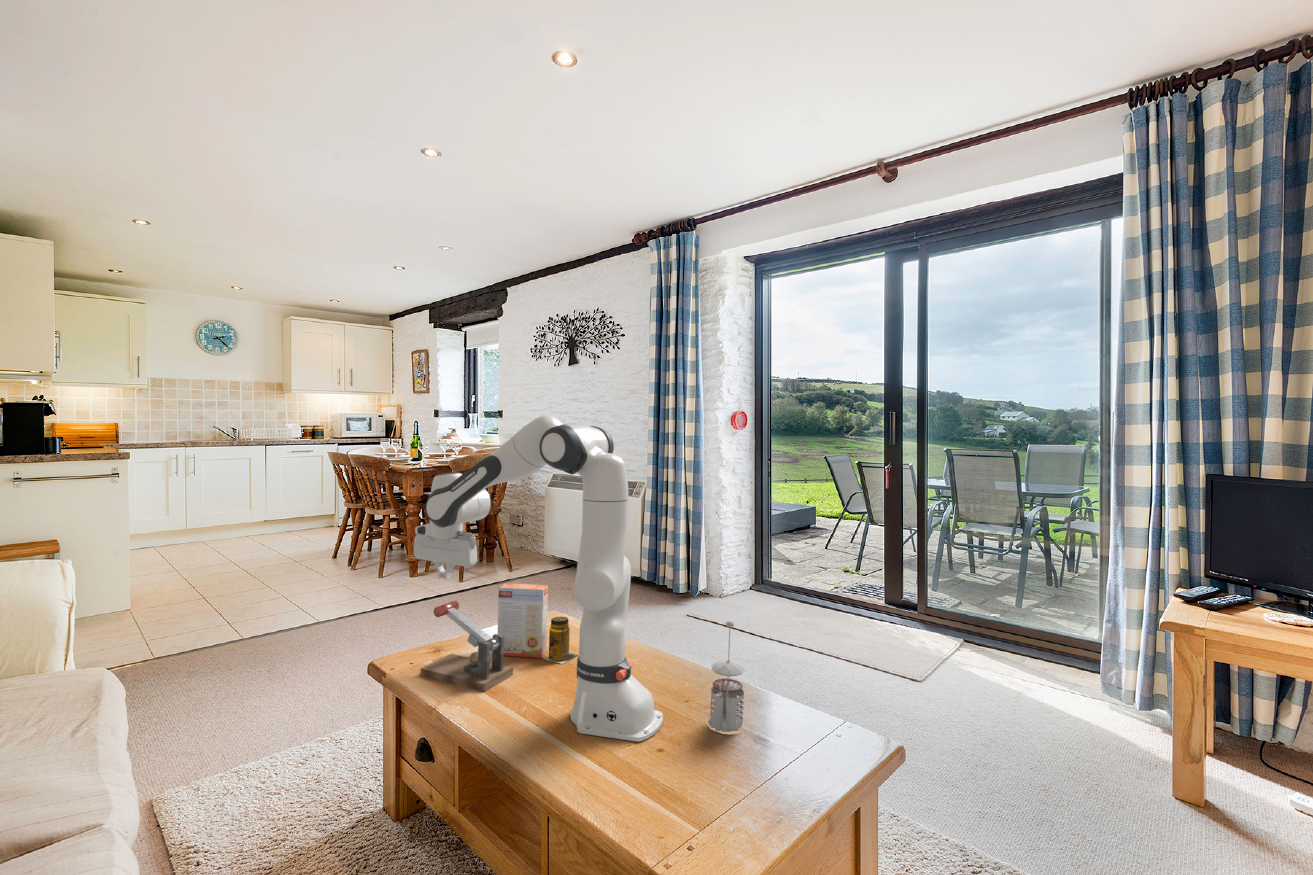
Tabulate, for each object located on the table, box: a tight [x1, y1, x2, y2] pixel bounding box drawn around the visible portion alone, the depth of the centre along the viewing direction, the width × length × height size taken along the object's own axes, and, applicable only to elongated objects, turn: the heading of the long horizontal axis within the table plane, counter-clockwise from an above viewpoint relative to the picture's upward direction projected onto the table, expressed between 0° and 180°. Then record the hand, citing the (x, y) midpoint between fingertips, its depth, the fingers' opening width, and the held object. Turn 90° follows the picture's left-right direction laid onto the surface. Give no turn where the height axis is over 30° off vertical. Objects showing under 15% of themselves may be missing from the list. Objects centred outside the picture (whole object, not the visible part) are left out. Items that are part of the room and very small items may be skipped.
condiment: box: [543, 616, 579, 665], centre depth 180 cm, size 7×8×12 cm
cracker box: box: [497, 582, 549, 659], centre depth 182 cm, size 14×6×21 cm, turn 84°
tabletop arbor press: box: [420, 633, 514, 692], centre depth 165 cm, size 22×12×12 cm, turn 67°
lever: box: [433, 600, 501, 653], centre depth 165 cm, size 20×7×4 cm, turn 67°
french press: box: [707, 620, 746, 732], centre depth 141 cm, size 10×12×25 cm
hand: (444, 578), depth 168 cm, fingers closed
